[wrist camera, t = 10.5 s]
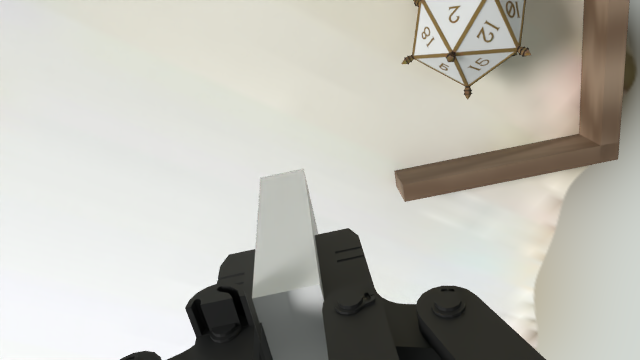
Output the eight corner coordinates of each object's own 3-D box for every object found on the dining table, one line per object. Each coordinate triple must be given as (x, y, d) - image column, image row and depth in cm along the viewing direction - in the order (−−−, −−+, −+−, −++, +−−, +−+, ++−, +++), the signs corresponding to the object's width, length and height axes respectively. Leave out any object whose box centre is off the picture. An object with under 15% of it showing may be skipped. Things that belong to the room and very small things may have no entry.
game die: (466, 45, 41) (369, -10, 36) (557, -29, 34) (452, -107, 30) (479, 133, 36) (370, 83, 32) (586, 67, 30) (468, -8, 25)
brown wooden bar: (361, -86, 34) (368, -91, 31) (610, -136, 34) (640, -145, 31) (396, 186, 42) (405, 201, 39) (595, 146, 42) (618, 159, 39)
